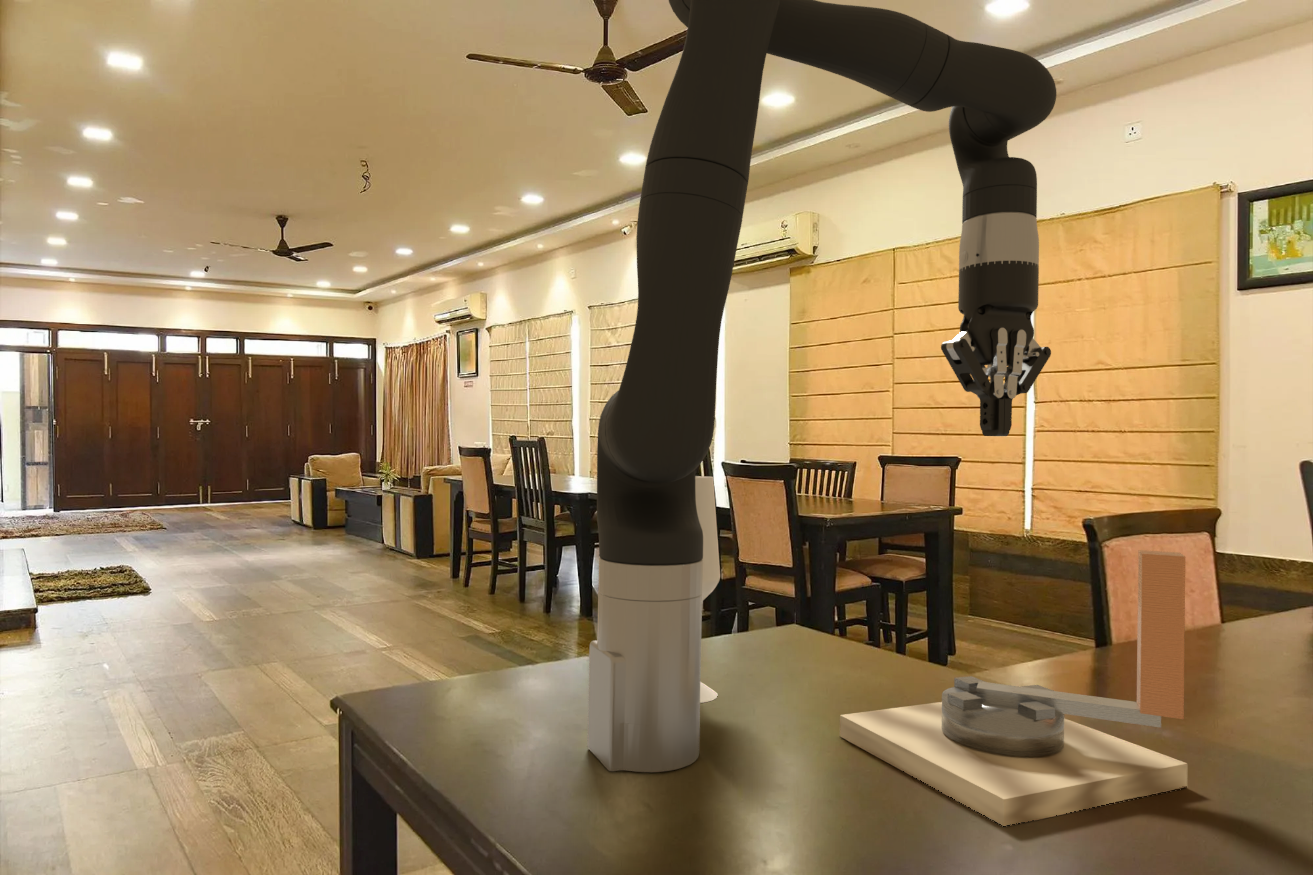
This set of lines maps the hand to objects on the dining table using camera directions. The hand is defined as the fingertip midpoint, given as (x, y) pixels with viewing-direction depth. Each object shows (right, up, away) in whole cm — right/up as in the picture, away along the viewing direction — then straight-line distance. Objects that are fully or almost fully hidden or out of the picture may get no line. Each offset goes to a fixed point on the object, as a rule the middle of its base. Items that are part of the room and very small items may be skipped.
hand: (995, 435), depth 83 cm
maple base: (-4, -29, -11) cm, 31 cm away
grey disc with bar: (0, -27, -12) cm, 29 cm away
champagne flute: (-31, -29, +7) cm, 43 cm away
